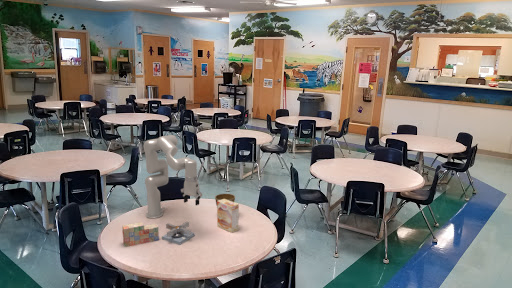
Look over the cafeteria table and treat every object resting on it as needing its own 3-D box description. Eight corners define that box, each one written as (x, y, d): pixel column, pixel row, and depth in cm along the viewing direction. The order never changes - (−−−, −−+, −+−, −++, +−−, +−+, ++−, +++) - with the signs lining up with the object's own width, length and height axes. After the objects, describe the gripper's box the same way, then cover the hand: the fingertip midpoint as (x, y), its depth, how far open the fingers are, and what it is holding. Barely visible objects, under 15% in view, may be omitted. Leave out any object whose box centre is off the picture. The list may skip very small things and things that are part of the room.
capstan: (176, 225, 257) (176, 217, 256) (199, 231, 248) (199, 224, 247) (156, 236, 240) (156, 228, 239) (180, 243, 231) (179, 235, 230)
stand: (177, 230, 255) (177, 227, 254) (194, 235, 248) (194, 232, 247) (162, 239, 242) (162, 236, 241) (180, 245, 235) (179, 241, 234)
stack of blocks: (156, 236, 246) (156, 219, 244) (159, 240, 241) (158, 222, 238) (123, 242, 236) (122, 225, 234) (124, 247, 231) (123, 228, 228)
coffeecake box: (216, 226, 263) (216, 200, 258) (224, 223, 268) (224, 198, 264) (231, 233, 253) (231, 206, 248) (238, 230, 258) (239, 203, 254)
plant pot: (238, 215, 282) (238, 195, 279) (227, 222, 270) (227, 201, 267) (223, 211, 290) (223, 192, 287) (211, 217, 278) (211, 197, 274)
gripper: (205, 179, 239) (205, 204, 243) (184, 175, 248) (185, 199, 251) (197, 182, 233) (198, 207, 236) (177, 178, 241) (177, 202, 245)
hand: (191, 203), depth 244 cm, fingers open, 9 cm apart
